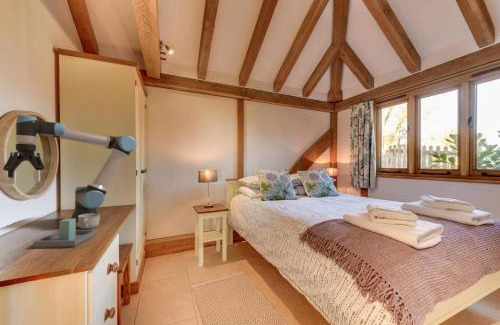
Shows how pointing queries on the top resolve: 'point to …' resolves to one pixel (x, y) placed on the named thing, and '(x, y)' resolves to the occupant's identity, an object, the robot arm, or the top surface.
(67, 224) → the teal block
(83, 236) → the tray
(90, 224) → the teacup
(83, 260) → the top surface
